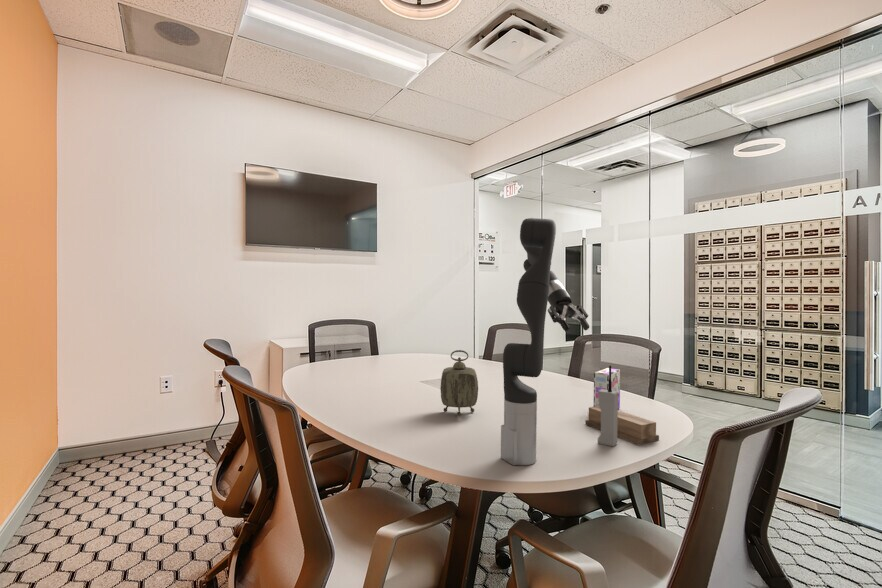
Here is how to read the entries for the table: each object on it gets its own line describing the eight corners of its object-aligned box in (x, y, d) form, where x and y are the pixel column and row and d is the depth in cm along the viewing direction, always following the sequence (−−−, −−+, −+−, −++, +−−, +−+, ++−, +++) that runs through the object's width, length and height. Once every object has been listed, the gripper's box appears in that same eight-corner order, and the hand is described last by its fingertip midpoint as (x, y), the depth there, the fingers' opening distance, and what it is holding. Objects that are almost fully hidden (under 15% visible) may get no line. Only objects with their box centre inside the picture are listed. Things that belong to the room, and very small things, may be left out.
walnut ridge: (638, 444, 132) (638, 425, 132) (585, 424, 151) (585, 407, 151) (658, 439, 136) (659, 421, 136) (605, 420, 156) (605, 404, 156)
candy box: (607, 416, 162) (608, 373, 162) (592, 412, 166) (593, 371, 166) (620, 408, 172) (620, 369, 172) (606, 406, 176) (606, 367, 176)
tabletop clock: (476, 411, 166) (477, 349, 166) (478, 418, 157) (478, 352, 157) (440, 410, 167) (441, 348, 167) (440, 417, 158) (440, 351, 158)
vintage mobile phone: (601, 440, 136) (602, 363, 135) (617, 443, 132) (618, 365, 132) (597, 443, 133) (598, 365, 132) (613, 447, 130) (614, 367, 129)
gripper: (545, 288, 148) (567, 324, 138) (576, 287, 154) (599, 321, 144) (536, 302, 153) (556, 337, 144) (566, 300, 159) (588, 334, 149)
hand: (577, 329), depth 144 cm, fingers open, 8 cm apart
